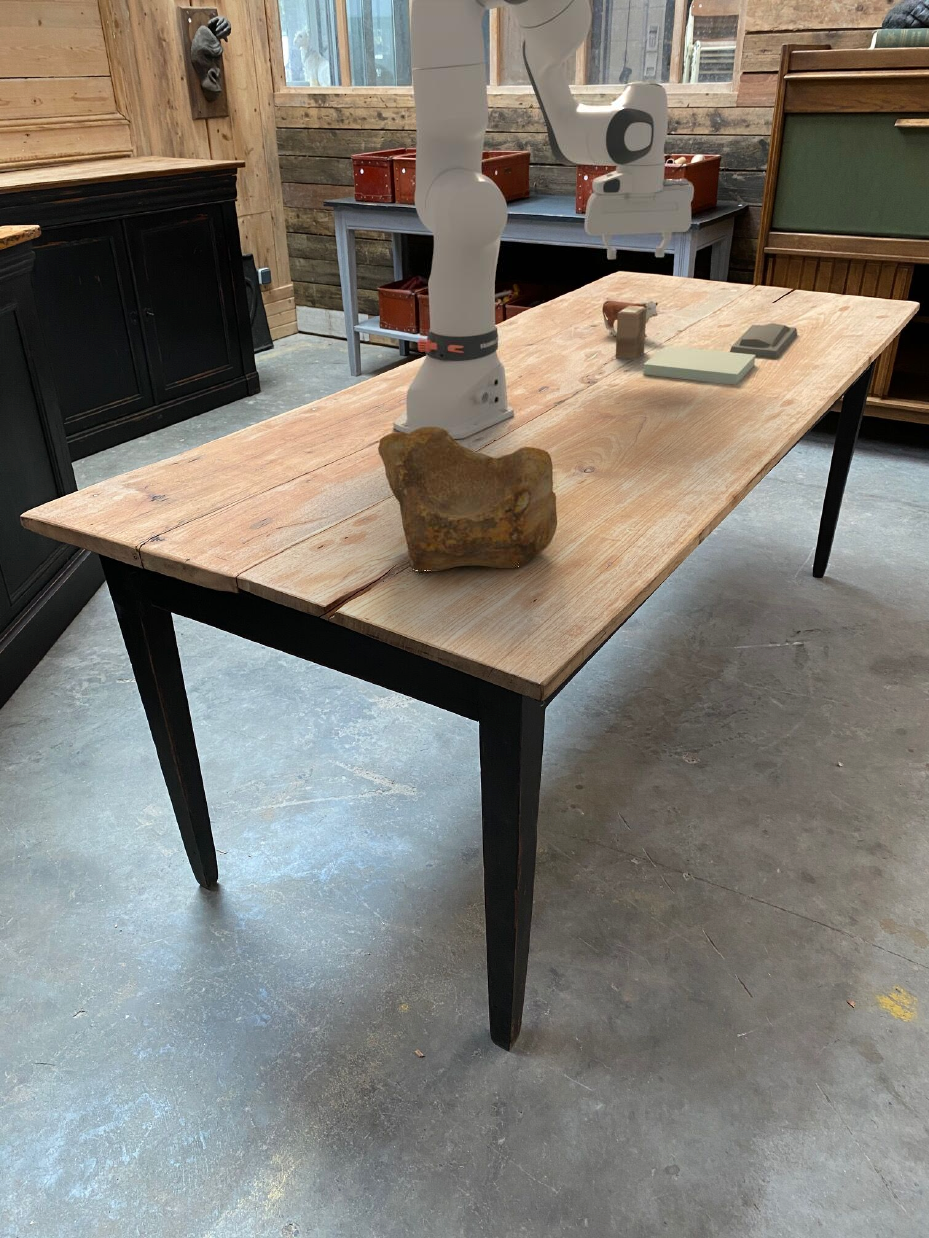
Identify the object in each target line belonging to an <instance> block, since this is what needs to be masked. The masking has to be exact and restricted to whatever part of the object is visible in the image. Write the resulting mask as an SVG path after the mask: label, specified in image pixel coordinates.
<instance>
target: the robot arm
mask: <svg viewBox="0 0 929 1238" xmlns="http://www.w3.org/2000/svg"><path fill="white" fill-rule="evenodd" d="M509 5H510V9H511V10H512V12H513V14H514V17H515V19H516V21H517V24H518V25H519V27H520V29H521V32H522V34H523V38H524V39H523V42H522V43H523V44H522V58H523V62H524V67H525V69H526V72H527V76H528V79H529V81H530V83H531V86H532V89H533V92H534V95H535V97H536V100H537V102H538V105H539V106H538V107H539V108H540V111H541V114H542V116H543V119H544V123H545V126H546V132H547V133H546V134H547V139H548V143H549V148H550V150H551V152H552V154H553V156H554V158H555V159H556V160H557V161H558V162H559V163H560V164H562V165H564V166H568V167H569V166H582V165H588V166H591V165H592V166H607V167H609V166H611V167H616V170H614V171H611V172H609V173H606V174H604V175H600V176H598V177H596V178H593V180H592V185H591V186H592V187H591V188H592V190H593V191H594V192H593V193H591V195H590V196H589V197H588V199H587V202H586V208H585V215H584V231H585V232H586V233H587V234H588V235H589V236H601V237H602V241H603V243H604V246H605V248H606V249H607V250H606V254H607V256H606V257H607V259H608V260H616V259H617V249H616V248H615V247H614V248H613V247H612V246H611V244H610V242H611V241H612V236H613V235H637V234H638V235H639V234H641V235H642V234H661V237H662V238H663V239H662V241H661V243H660V244H659V246H655V249H654V250H655V252H654V256H655V257H656V258H664V257H665V250H666V248H667V246H668V244H669V243H670V241H671V240H672V233H684V232H687V231H688V230H689V229H690V227H691V226H692V205H691V204H692V203H691V202H692V201H693V199H694V193H695V188H694V185H693V183H692V182H691V181H690V180H689V181H688V179H687V178H680V179H673V178H672V179H670V178H669V179H668V178H667V179H666V178H665V167H666V166H665V165H666V158H665V152H664V151H665V149H664V148H665V145H666V144H665V143H666V141H667V135H668V125H669V122H668V121H669V119H668V118H669V105H668V104H669V103H668V94H667V91H666V89H665V87H664V86H663V85H661V84H659V83H656V82H646V81H631V82H628V83H626V84H625V85H624V87H623V92H622V93H621V94H620V96H618V98H617V99H615V100H614V101H612V102H610V103H609V105H608V104H607V105H588V104H587V105H586V104H584V103H581V102H579V101H578V100H576V99H575V98H574V97H573V95H572V91H571V88H570V85H569V81H568V79H567V76H566V73H565V70H564V68H563V67H564V66H563V63H565V62H566V61H568V60H569V59H570V58H571V57H573V55H574V54H575V53H576V52H577V51H578V50H579V48H581V46H582V45H583V44H584V41H585V40H586V38H587V36H588V33H589V31H590V28H591V24H592V23H591V22H592V10H591V5H590V1H589V0H412V1H411V13H410V31H409V33H410V35H409V36H410V39H409V40H410V41H409V42H410V44H409V45H410V62H411V63H410V64H411V69H412V70H411V74H412V75H411V77H412V84H413V85H412V87H413V96H414V97H413V98H414V110H415V119H416V122H415V123H416V150H415V151H416V154H415V191H414V206H415V210H416V213H417V215H418V218H419V220H420V222H421V223H422V225H423V226H424V227H425V228H426V229H427V230H428V231H430V232H431V233H432V234H433V255H432V261H431V269H430V270H431V271H430V275H429V278H428V284H427V285H428V286H427V287H428V302H429V303H428V305H429V325H430V327H429V329H428V333H427V337H426V339H422V338H420V339H419V340H418V342H417V350H418V352H421V353H422V352H425V355H426V356H425V357H424V360H423V362H422V364H421V365H420V367H419V369H418V371H417V373H416V374H415V376H414V379H413V380H412V382H411V384H410V386H409V387H408V389H407V392H406V410H405V411H403V413H402V414H401V415H400V416H398V418H396V419H395V420H394V421H393V429H394V430H396V431H399V432H405V433H407V434H409V433H411V432H412V431H414V430H416V429H420V428H422V427H439V428H442V429H444V430H446V431H447V432H448V433H449V435H450V436H451V437H452V438H453V439H454V440H457V439H461V440H462V439H466V438H468V437H469V436H472V435H475V434H476V433H478V432H481V431H483V430H485V429H487V428H489V427H491V426H494V425H496V424H498V423H500V422H502V421H505V420H506V419H509V418H511V417H513V416H514V415H515V411H514V408H513V407H512V406H510V405H509V404H508V393H507V392H508V391H507V380H506V372H505V371H506V370H505V366H504V364H503V363H502V362H501V360H500V358H499V356H498V353H497V351H498V349H499V334H498V327H497V326H496V318H495V317H496V316H495V315H496V309H495V308H496V301H495V300H496V299H495V297H496V296H495V295H496V294H495V290H496V289H495V286H496V285H495V281H496V271H497V264H498V258H499V254H500V253H499V252H500V247H501V240H502V239H501V238H502V234H503V232H504V230H505V228H506V225H507V222H508V216H509V215H508V214H509V213H508V211H509V210H508V205H507V201H506V198H505V196H504V195H503V193H502V191H501V189H500V188H499V187H498V185H497V184H496V183H495V182H494V181H493V179H491V178H490V177H488V176H486V175H485V174H483V173H482V170H483V169H482V163H483V153H484V152H483V151H484V145H485V144H484V143H485V135H486V131H487V128H488V125H489V108H488V107H489V106H488V105H489V104H488V87H487V71H486V57H485V56H486V55H485V46H484V45H485V43H484V37H483V36H484V35H483V27H482V23H483V19H484V15H485V12H486V10H493V9H498V8H502V7H503V8H504V7H507V6H509ZM609 241H610V242H609Z"/></svg>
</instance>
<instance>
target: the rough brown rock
mask: <svg viewBox="0 0 929 1238" xmlns="http://www.w3.org/2000/svg"><path fill="white" fill-rule="evenodd" d="M378 444H379V445H378V448H377V451H378V453H379V456H380V458H381V460H382V463H383V465H384V470H385V471H384V472H385V477H386V479H387V482H388V484H389V487H390V490H391V492H392V494H393V496H394V497H395V499H396V500H397V502H398V505H399V509H400V515H401V516H400V517H401V521H402V528H403V529H402V530H403V533H404V536H405V541H406V546H407V549H408V557H409V559H408V560H409V561H408V563H409V565H411V566H410V569H411V568H412V569H414V570H418V571H424V570H426V571H427V570H440V571H444V570H446V569H451V568H455V567H465V566H480V567H482V566H483V567H489V568H497V569H515V568H514V567H518V566H519V567H518V568H521V567H523V566H524V565H525V564H527V562H528V561H529V560H531V559H535V558H537V557H538V556H539V555H540V554H541V553H543V551H544V550H545V549H547V547H548V546H549V545H550V544H551V542H552V541H553V539H554V536H555V534H556V530H557V527H558V515H557V504H556V503H557V495H556V492H554V490H553V488H554V487H553V486H554V479H553V473H554V472H553V466H554V465H553V460H552V458H551V455H550V453H549V452H548V451H546V450H544V449H542V448H538V447H532V446H531V447H530V446H524V447H520V448H519V449H517V450H515V451H514V452H512V453H509V454H504V455H502V456H500V457H494V456H493V457H492V456H490V455H487V454H485V453H483V452H482V453H481V452H477V451H475V450H472V449H469V448H467V447H465V446H463V445H460V444H459V443H458V442H457V441H456V439H453V438H452V437H451V436H450V435H449V433H448V432H447V431H446V430H444V429H442V428H439V427H422V428H420V429H416V430H414V431H412V432H411V433H409V434H407V433H405V432H401V431H399V432H392V433H388V434H387V435H384V436H383V437H381V438H380V439H379V443H378ZM520 566H521V567H520ZM412 569H411V570H412ZM443 569H444V570H443Z"/></svg>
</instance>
